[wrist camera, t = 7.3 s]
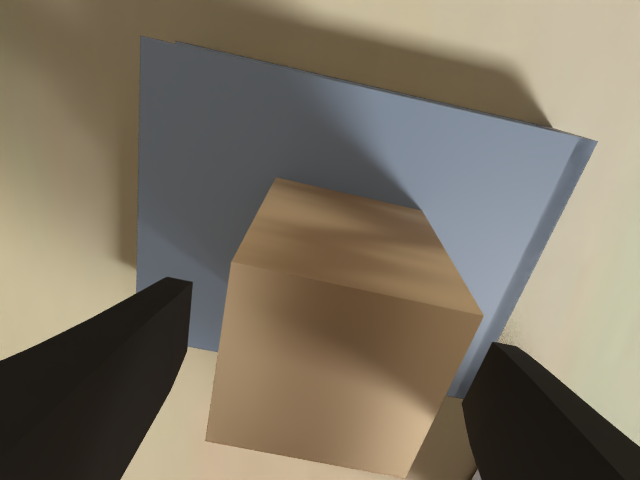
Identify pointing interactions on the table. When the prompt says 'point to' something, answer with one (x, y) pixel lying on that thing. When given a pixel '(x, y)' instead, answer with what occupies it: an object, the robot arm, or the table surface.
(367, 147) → the book
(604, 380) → the table surface
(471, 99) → the table surface
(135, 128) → the table surface
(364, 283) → the oak block
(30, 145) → the table surface
